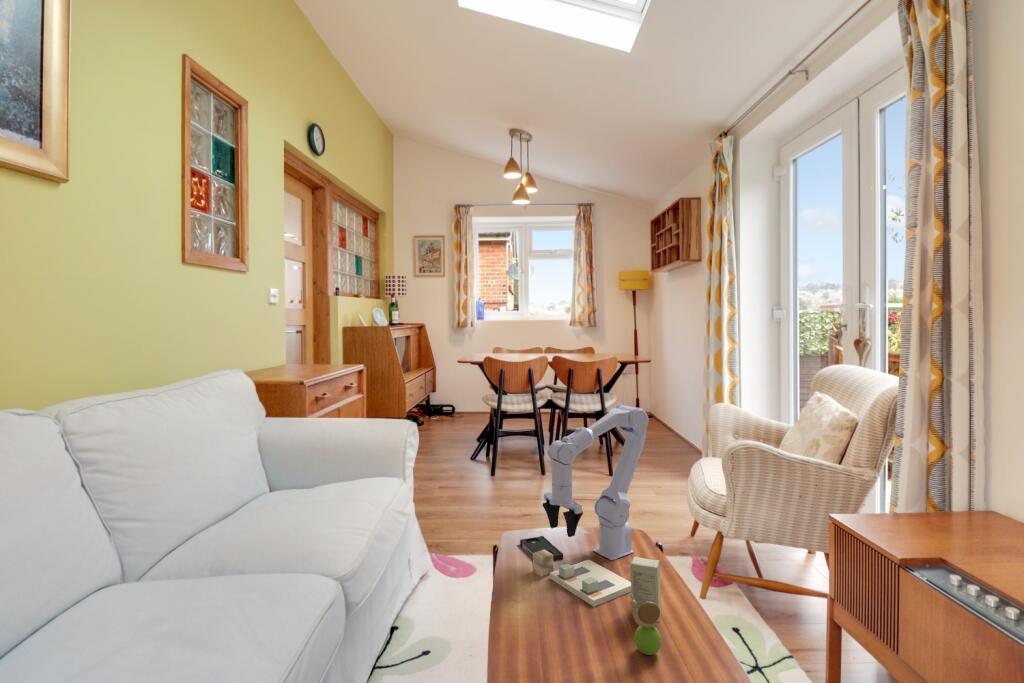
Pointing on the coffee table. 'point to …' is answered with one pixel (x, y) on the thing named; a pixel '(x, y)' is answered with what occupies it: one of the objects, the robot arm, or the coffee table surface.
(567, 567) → the tab
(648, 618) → the snail figurine
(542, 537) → the vhs tape
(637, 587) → the skincare box
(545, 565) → the block
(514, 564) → the coffee table surface
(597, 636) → the coffee table surface
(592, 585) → the tab
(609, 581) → the white base plate
